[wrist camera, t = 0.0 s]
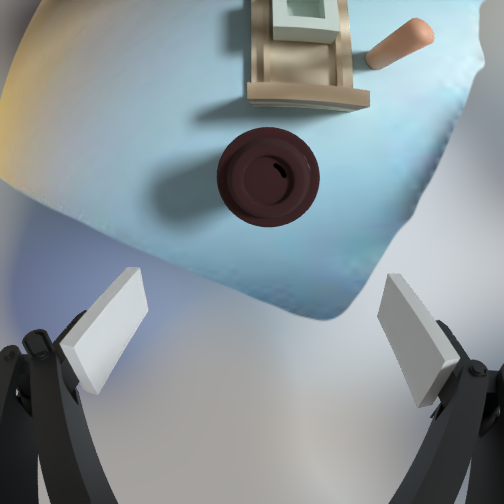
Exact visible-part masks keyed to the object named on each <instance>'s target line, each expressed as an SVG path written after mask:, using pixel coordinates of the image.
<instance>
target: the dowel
mask: <svg viewBox="0 0 504 504" xmlns="http://www.w3.org/2000/svg"><path fill="white" fill-rule="evenodd" d="M433 41H434V33H433V30H432V29H431V27H430V26H429V25H428V24H427V23H426V22H425V21H423V20H421V19H418V18H413V19H411V20H409V21H408V22H407V23H405V24H404V25H403V26H401V27H400V28H398V29H397V30H396V31H394V32H393V33H392V34H390V35H389V36H388V37H387V38H385V39H384V40H383V41H381V42H380V43H379V44H377V45H376V46H375V47H374V48H372V49H371V50H370V51H369V52H367V53H366V55H365V61H366V63H367V64H368V66H369V67H371V68H372V69H375V70H380V69H382V68H384V67H386V66H388V65H389V64H391V63H393V62H395V61H397V60H399V59H401V58H403V57H405V56H407V55H409V54H411V53H413V52H415V51H417V50H419V49H421V48H423V47H425V46H427V45H429V44H431V43H433Z"/></svg>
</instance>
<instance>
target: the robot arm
mask: <svg viewBox="0 0 504 504" xmlns="http://www.w3.org/2000/svg"><path fill="white" fill-rule="evenodd" d="M148 310H149V309H148V305H147V301H146V296H145V291H144V287H143V282H142V277H141V271H140V268H138V267H137V268H136V267H127V268H126V269H125V270H124V272H123V273H122V274H121V275H120V276H119V277H118V278H117V279H116V280H115V281H114V282H113V283H112V284H111V285H110V286H109V287H108V289H107V290H106V291H105V292H104V293H103V294H102V295H101V296H100V297H99V298H98V299H97V300H96V302H95V303H94V304H93V305H92V306H91V307H90V308H89V309H88V311H87V310H85V311H83V312H81V313H80V314H78V315H77V316H76V317H75V318H74V319H73V320H72V321H71V323H70V324H69V325H68V326H67V328H66V329H65V330H64V331H63V332H62V333H61V334H60V335H59V337H58V338H57V339H56V340H55V341H54V342H53V344H52V342H51V340H50V338H49V336H48V333H47V332H46V331H45V330H42V329H38V330H33V331H31V332H29V333H28V334H27V335H26V336H25V337H24V338H23V341H22V344H23V346H24V348H25V350H26V351H27V353H28V354H22V353H21V352H20V350H19V348H18V347H17V346H16V345H10V346H7V347H5V348H3V350H2V351H1V352H0V504H39V502H38V501H39V500H38V455H39V460H40V465H41V470H42V474H43V478H44V482H45V485H46V489H47V493H48V496H49V499H50V503H51V504H118V502H117V500H116V498H115V496H114V494H113V492H112V490H111V488H110V485H109V483H108V481H107V478H106V476H105V474H104V471H103V469H102V466H101V464H100V461H99V458H98V456H97V453H96V450H95V447H94V445H93V442H92V438H91V435H90V432H89V429H88V426H87V422H86V419H85V415H84V412H83V408H82V404H81V400H80V396H79V392H78V390H77V389H76V386H77V385H78V383H79V382H80V384H81V386H82V387H83V389H84V390H85V391H87V392H90V393H93V394H97V395H98V394H99V392H100V391H101V389H102V387H103V385H104V383H105V382H106V380H107V378H108V376H109V375H110V373H111V371H112V369H113V368H114V366H115V364H116V363H117V361H118V359H119V358H120V356H121V354H122V352H123V351H124V349H125V347H126V346H127V344H128V342H129V340H130V339H131V338H132V336H133V334H134V332H135V331H136V329H137V328H138V326H139V324H140V323H141V321H142V320H143V318H144V317H145V315H146V313H147V312H148ZM377 317H378V319H379V321H380V323H381V326H382V328H383V330H384V332H385V334H386V336H387V338H388V340H389V342H390V345H391V347H392V349H393V351H394V353H395V355H396V358H397V360H398V362H399V365H400V367H401V369H402V372H403V374H404V376H405V379H406V381H407V384H408V385H409V388H410V391H411V393H412V396H413V398H414V401H415V403H416V406H417V408H420V407H425V406H428V405H432V404H433V402H434V401H435V399H436V398H437V396H438V397H439V399H440V401H441V403H440V404H439V406H438V407H437V408H436V410H435V411H434V413H433V414H432V415H431V417H430V418H433V420H432V422H431V425H430V427H429V429H428V432H427V434H426V436H425V439H424V441H423V443H422V445H421V447H420V449H419V451H418V453H417V455H416V457H415V459H414V461H413V463H412V465H411V467H410V469H409V471H408V472H407V474H406V476H405V478H404V479H403V481H402V483H401V485H400V486H399V488H398V490H397V491H396V493H395V494H394V496H393V498H392V499H391V501H390V502H389V504H454V502H455V500H456V497H457V495H458V493H459V490H460V488H461V485H462V483H463V480H464V477H465V475H466V472H467V469H468V466H469V463H470V460H471V470H470V477H469V484H468V491H467V496H466V502H465V504H504V364H503V365H502V367H501V369H500V370H499V371H491V370H488V369H487V367H486V366H485V365H484V364H483V363H482V362H480V361H477V360H470V358H469V357H468V355H467V354H466V352H465V351H464V349H463V348H462V346H461V345H460V343H459V342H458V341H457V339H456V337H455V336H454V335H453V334H452V332H451V330H450V329H449V328H448V326H447V325H445V324H444V323H443V322H441V321H440V320H437V321H435V319H434V318H433V317H432V315H431V314H430V312H429V311H428V310H427V308H426V307H425V306H424V304H423V303H422V301H421V300H420V299H419V297H418V296H417V295H416V293H415V292H414V291H413V290H412V288H411V287H410V286H409V284H408V283H407V282H406V281H405V279H404V278H403V277H402V276H401V274H388V275H387V280H386V284H385V288H384V292H383V296H382V301H381V304H380V308H379V312H378V316H377ZM16 389H17V390H18V395H17V396H16ZM499 410H500V415H499ZM433 416H434V417H433ZM471 457H472V459H471Z"/></svg>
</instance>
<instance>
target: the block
mask: <svg viewBox="0 0 504 504" xmlns="http://www.w3.org/2000/svg"><path fill="white" fill-rule="evenodd" d="M272 11H273V40H280V41H302V42H315V43H325V44H332V42H333V41H334V39H335V38H336V37H337V35H338V34H339V32H340V26H339V15H338V5H337V0H272Z"/></svg>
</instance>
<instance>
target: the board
mask: <svg viewBox="0 0 504 504" xmlns="http://www.w3.org/2000/svg"><path fill="white" fill-rule="evenodd" d="M337 5H338V15H339V26H340V32H339V34H338V35H337V37H336V38H335V39H334V41H333V42H332V44H325V43H315V42H302V41H280V40H273V11H272V0H251V82H247V99H248V101H249V102H250V104H251V106H252V107H297V108H314V109H327V110H337V111H347V112H353V111H356V110H360V109H364V108H368V107H370V91H367V90H360V89H354V88H353V68H352V49H351V35H350V24H349V14H348V5H347V0H337Z"/></svg>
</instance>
